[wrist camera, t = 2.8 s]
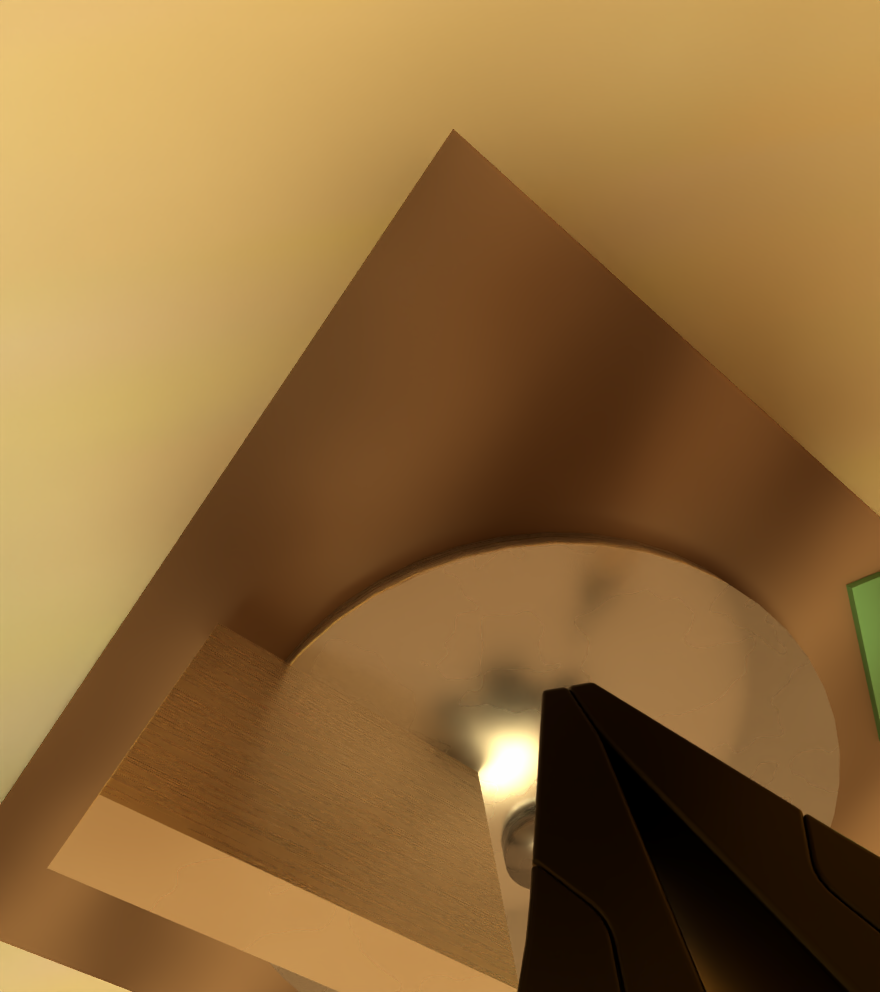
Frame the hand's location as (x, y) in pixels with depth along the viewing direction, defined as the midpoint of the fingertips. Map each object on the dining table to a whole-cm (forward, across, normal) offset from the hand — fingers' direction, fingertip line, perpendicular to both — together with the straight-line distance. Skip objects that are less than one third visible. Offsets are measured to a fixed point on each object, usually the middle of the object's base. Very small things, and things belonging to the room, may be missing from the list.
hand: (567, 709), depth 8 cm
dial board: (+7, 0, +8) cm, 11 cm away
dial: (+5, 0, +8) cm, 10 cm away
